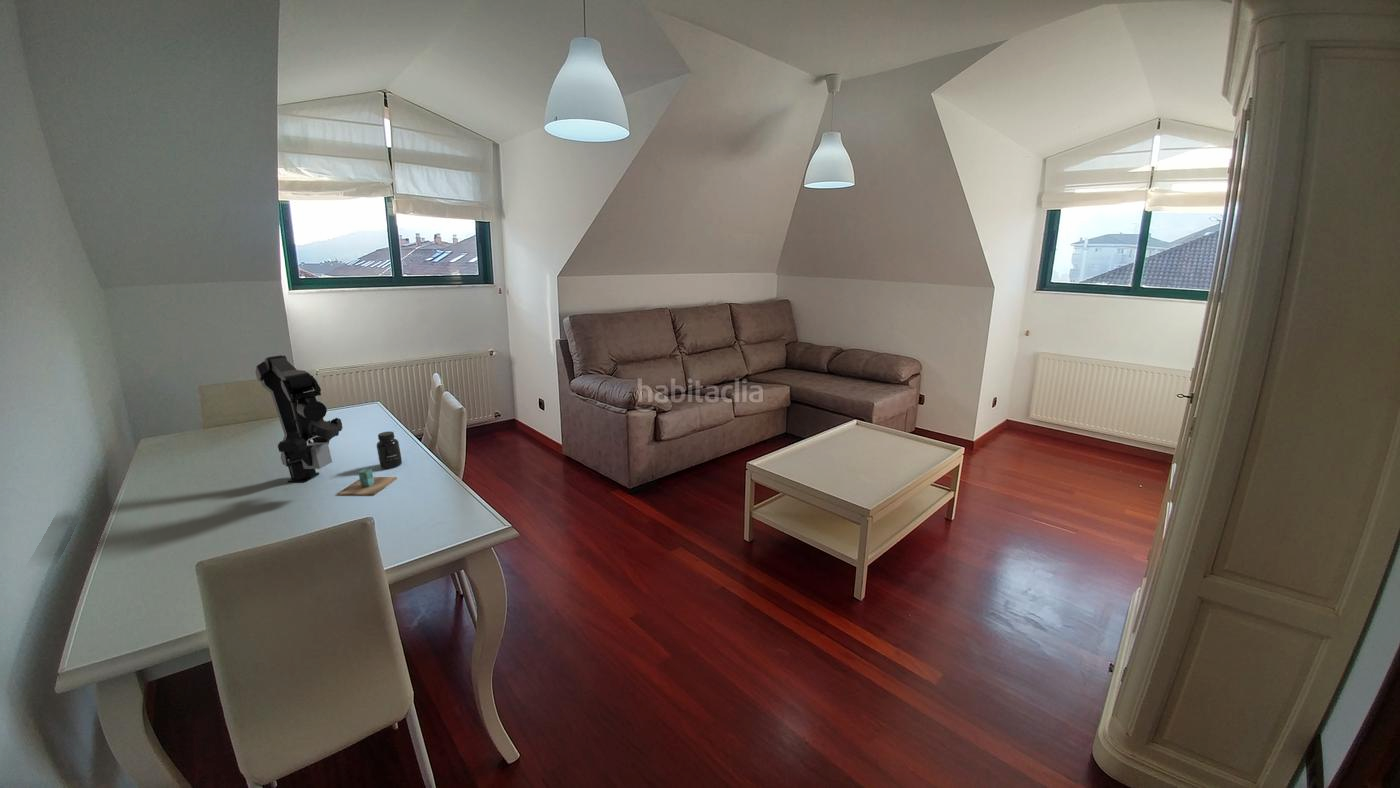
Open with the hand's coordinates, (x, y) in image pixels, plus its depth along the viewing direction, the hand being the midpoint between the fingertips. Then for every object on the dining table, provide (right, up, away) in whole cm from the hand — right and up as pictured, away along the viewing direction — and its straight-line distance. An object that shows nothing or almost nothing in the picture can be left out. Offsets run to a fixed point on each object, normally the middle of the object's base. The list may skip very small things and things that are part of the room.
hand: (317, 462), depth 166 cm
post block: (+11, -9, +8) cm, 16 cm away
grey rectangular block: (0, -1, 0) cm, 1 cm away
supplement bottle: (+9, -4, +24) cm, 26 cm away
